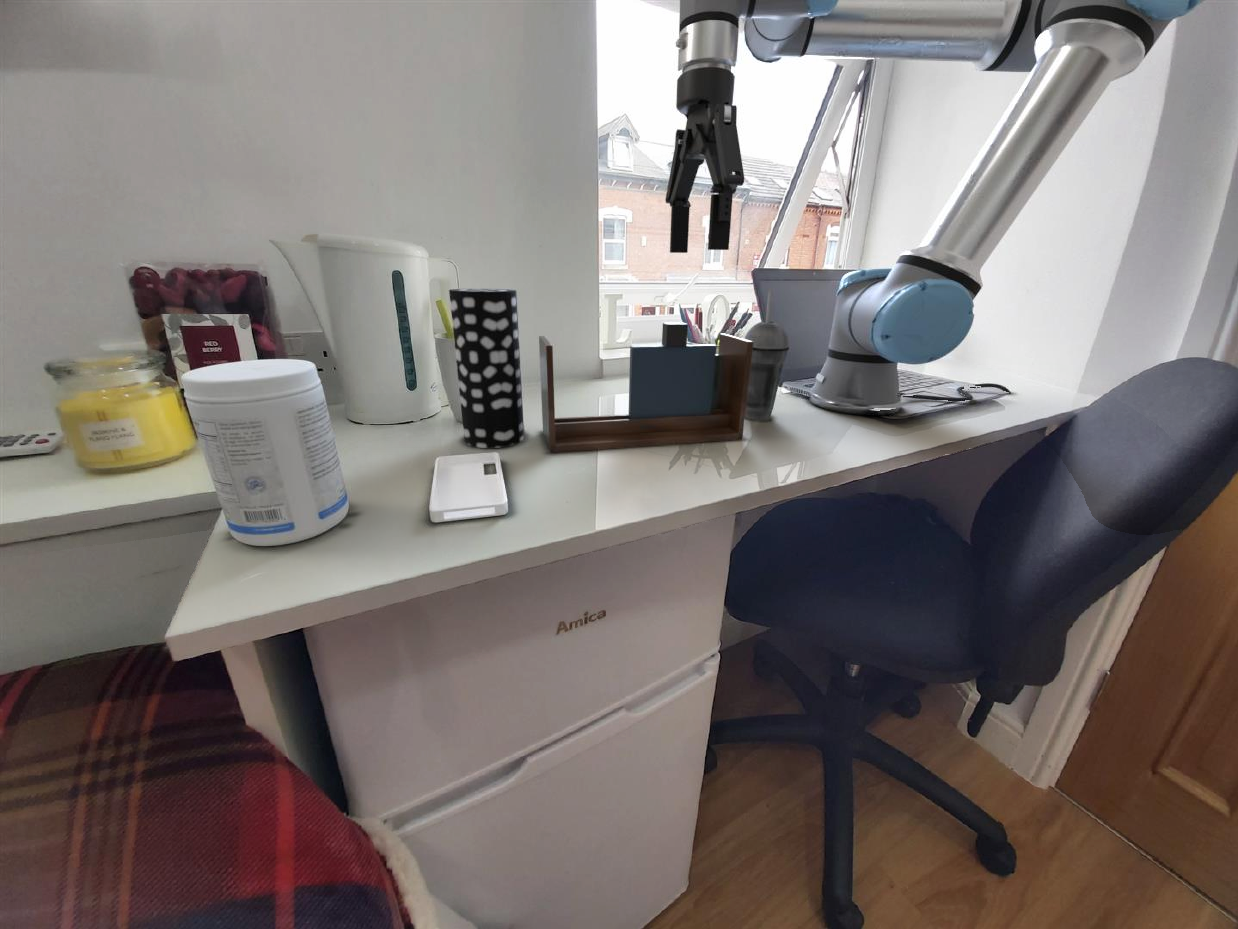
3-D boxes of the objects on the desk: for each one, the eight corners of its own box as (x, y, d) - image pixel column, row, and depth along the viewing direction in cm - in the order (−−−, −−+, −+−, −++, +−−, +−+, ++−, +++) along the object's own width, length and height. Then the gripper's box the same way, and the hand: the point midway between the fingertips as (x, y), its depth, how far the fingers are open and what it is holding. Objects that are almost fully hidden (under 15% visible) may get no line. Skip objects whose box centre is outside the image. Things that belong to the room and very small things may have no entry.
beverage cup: (738, 422, 80) (753, 291, 73) (730, 410, 87) (743, 289, 79) (784, 423, 80) (803, 292, 73) (772, 411, 87) (789, 290, 79)
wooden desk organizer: (716, 422, 80) (724, 333, 75) (742, 439, 72) (753, 341, 67) (542, 432, 74) (538, 336, 68) (550, 453, 66) (546, 345, 60)
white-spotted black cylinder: (510, 450, 66) (499, 292, 59) (453, 445, 68) (436, 290, 60) (532, 432, 74) (525, 289, 66) (480, 427, 75) (468, 288, 68)
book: (705, 422, 76) (713, 322, 70) (710, 426, 74) (720, 323, 69) (627, 426, 73) (629, 322, 67) (631, 431, 71) (633, 324, 66)
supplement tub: (322, 493, 53) (291, 354, 47) (370, 519, 48) (340, 366, 42) (213, 529, 46) (160, 369, 40) (255, 563, 40) (201, 385, 35)
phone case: (437, 466, 60) (430, 524, 47) (436, 456, 60) (428, 511, 47) (499, 461, 62) (508, 515, 49) (498, 451, 62) (508, 502, 48)
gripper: (647, 100, 75) (644, 253, 83) (725, 29, 53) (711, 247, 60) (692, 105, 77) (686, 253, 85) (786, 38, 55) (765, 248, 62)
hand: (696, 251), depth 72 cm, fingers open, 13 cm apart
